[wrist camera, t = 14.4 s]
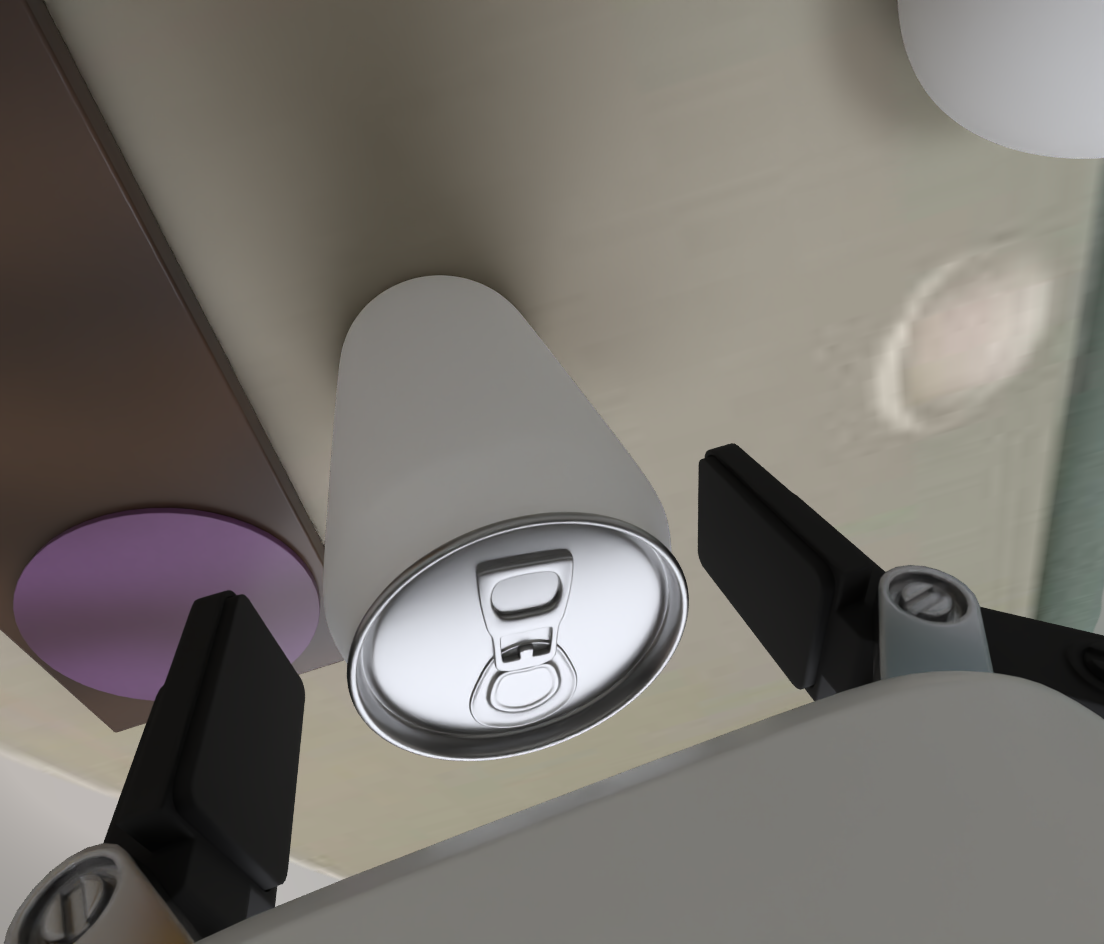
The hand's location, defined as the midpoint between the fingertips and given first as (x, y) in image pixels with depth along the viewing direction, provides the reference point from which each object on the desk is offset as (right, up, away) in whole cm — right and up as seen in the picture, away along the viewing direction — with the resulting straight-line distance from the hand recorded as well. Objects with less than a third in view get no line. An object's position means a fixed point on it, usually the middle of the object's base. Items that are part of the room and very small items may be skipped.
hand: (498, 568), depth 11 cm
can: (-3, +5, +7) cm, 10 cm away
